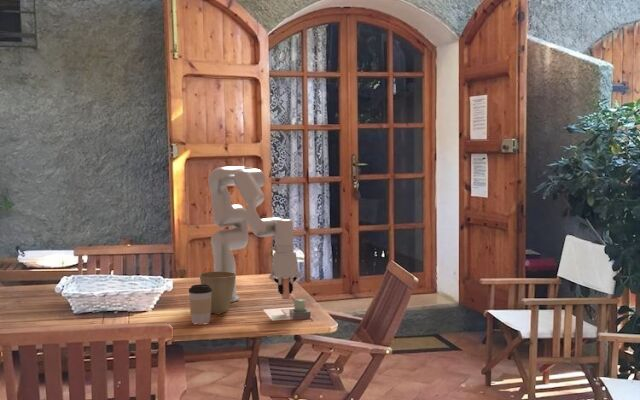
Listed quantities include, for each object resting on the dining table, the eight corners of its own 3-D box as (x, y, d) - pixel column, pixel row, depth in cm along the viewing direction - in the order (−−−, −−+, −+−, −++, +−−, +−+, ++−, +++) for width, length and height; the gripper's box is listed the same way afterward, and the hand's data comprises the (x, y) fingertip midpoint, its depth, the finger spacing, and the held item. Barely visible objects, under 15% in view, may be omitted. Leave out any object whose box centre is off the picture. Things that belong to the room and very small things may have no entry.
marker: (282, 299, 304) (282, 272, 304) (281, 298, 307) (280, 271, 307) (290, 298, 305) (289, 272, 304) (288, 297, 308) (288, 271, 308)
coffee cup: (190, 320, 297) (189, 283, 296) (213, 319, 298) (212, 282, 297) (188, 325, 288) (187, 287, 287) (212, 324, 289) (211, 286, 288)
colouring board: (272, 322, 293) (272, 320, 293) (262, 311, 312) (262, 309, 312) (311, 319, 297) (311, 317, 297) (300, 308, 316) (300, 306, 316)
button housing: (293, 318, 295) (293, 312, 295) (289, 315, 301) (289, 309, 301) (310, 317, 297) (310, 311, 296) (306, 313, 303) (306, 307, 303)
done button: (295, 314, 296) (295, 301, 296) (293, 311, 300) (293, 299, 300) (306, 313, 297) (306, 301, 297) (303, 311, 302) (303, 298, 301)
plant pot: (207, 317, 301) (206, 278, 300) (195, 310, 314) (194, 273, 313) (241, 313, 308) (241, 275, 307) (229, 306, 321) (228, 270, 320)
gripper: (266, 251, 299) (267, 296, 300) (305, 249, 303) (307, 293, 305) (262, 249, 306) (264, 293, 308) (301, 246, 311) (302, 290, 312)
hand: (285, 293), depth 306 cm, fingers closed on marker, 3 cm apart
